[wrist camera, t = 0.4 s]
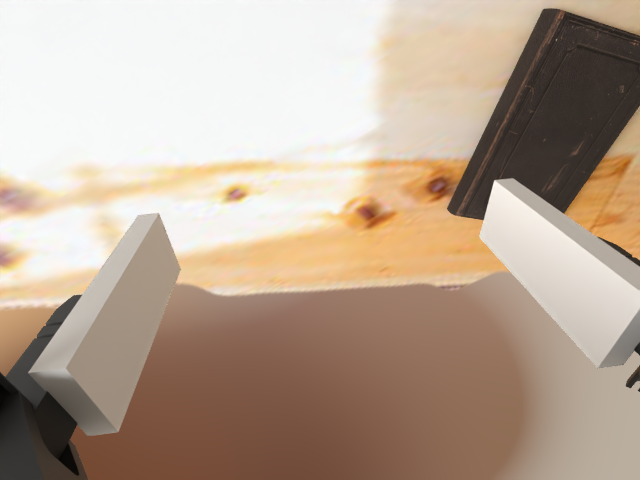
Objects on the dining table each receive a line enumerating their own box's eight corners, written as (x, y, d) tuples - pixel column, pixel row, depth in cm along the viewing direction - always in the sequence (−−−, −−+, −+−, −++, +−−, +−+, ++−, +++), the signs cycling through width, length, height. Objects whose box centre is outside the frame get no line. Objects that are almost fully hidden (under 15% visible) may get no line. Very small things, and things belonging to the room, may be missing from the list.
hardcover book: (659, 47, 37) (680, 48, 35) (541, 222, 49) (551, 231, 47) (539, 8, 33) (555, 7, 31) (444, 207, 45) (452, 215, 44)
